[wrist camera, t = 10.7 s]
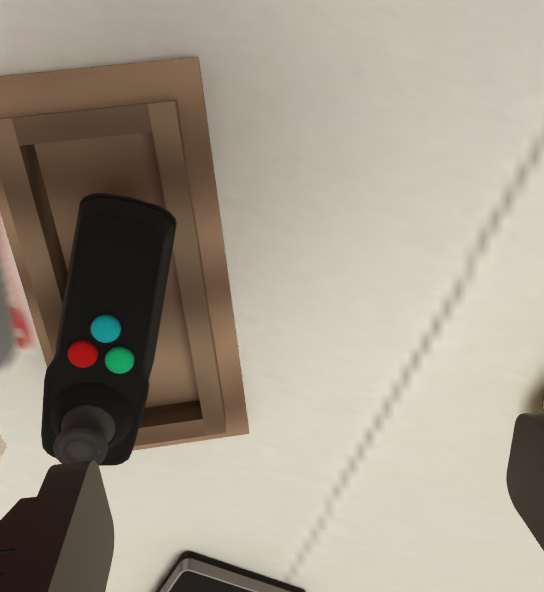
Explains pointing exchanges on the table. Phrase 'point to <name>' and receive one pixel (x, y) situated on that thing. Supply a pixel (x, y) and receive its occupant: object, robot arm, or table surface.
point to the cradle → (139, 185)
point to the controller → (107, 329)
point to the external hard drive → (217, 578)
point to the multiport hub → (2, 446)
